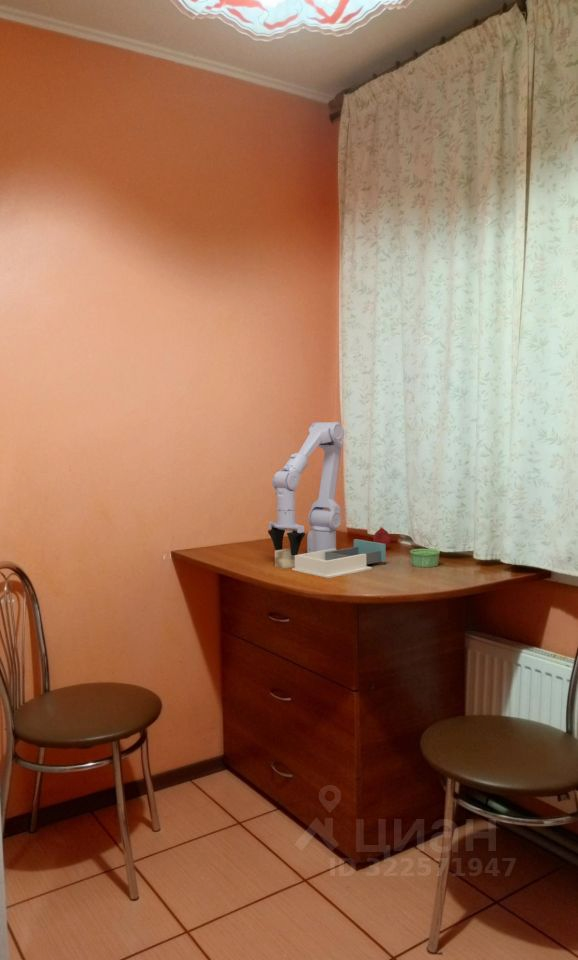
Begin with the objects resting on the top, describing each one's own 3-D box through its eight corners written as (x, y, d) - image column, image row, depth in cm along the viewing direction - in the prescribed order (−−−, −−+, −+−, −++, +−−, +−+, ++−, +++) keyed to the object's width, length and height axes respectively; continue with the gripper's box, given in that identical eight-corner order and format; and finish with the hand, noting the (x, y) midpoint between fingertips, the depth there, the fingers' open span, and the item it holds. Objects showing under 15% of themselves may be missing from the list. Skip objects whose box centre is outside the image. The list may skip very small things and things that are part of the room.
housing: (334, 561, 237) (334, 547, 237) (371, 569, 225) (371, 554, 225) (292, 570, 226) (291, 554, 225) (328, 578, 214) (328, 562, 213)
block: (274, 566, 232) (274, 550, 232) (289, 563, 236) (289, 548, 235) (284, 568, 229) (283, 552, 228) (298, 565, 233) (298, 549, 232)
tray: (355, 556, 241) (355, 539, 241) (385, 561, 231) (385, 543, 231) (322, 562, 232) (322, 544, 231) (352, 568, 222) (352, 550, 221)
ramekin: (445, 565, 230) (445, 551, 230) (428, 569, 224) (428, 555, 224) (422, 561, 237) (422, 547, 236) (404, 565, 230) (404, 551, 230)
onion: (392, 548, 259) (392, 525, 258) (387, 551, 253) (387, 528, 253) (376, 547, 261) (376, 525, 260) (371, 550, 256) (371, 527, 255)
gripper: (261, 509, 234) (261, 552, 235) (291, 513, 223) (291, 558, 224) (278, 507, 238) (279, 549, 239) (309, 510, 227) (309, 555, 228)
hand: (286, 553), depth 232 cm, fingers open, 7 cm apart
